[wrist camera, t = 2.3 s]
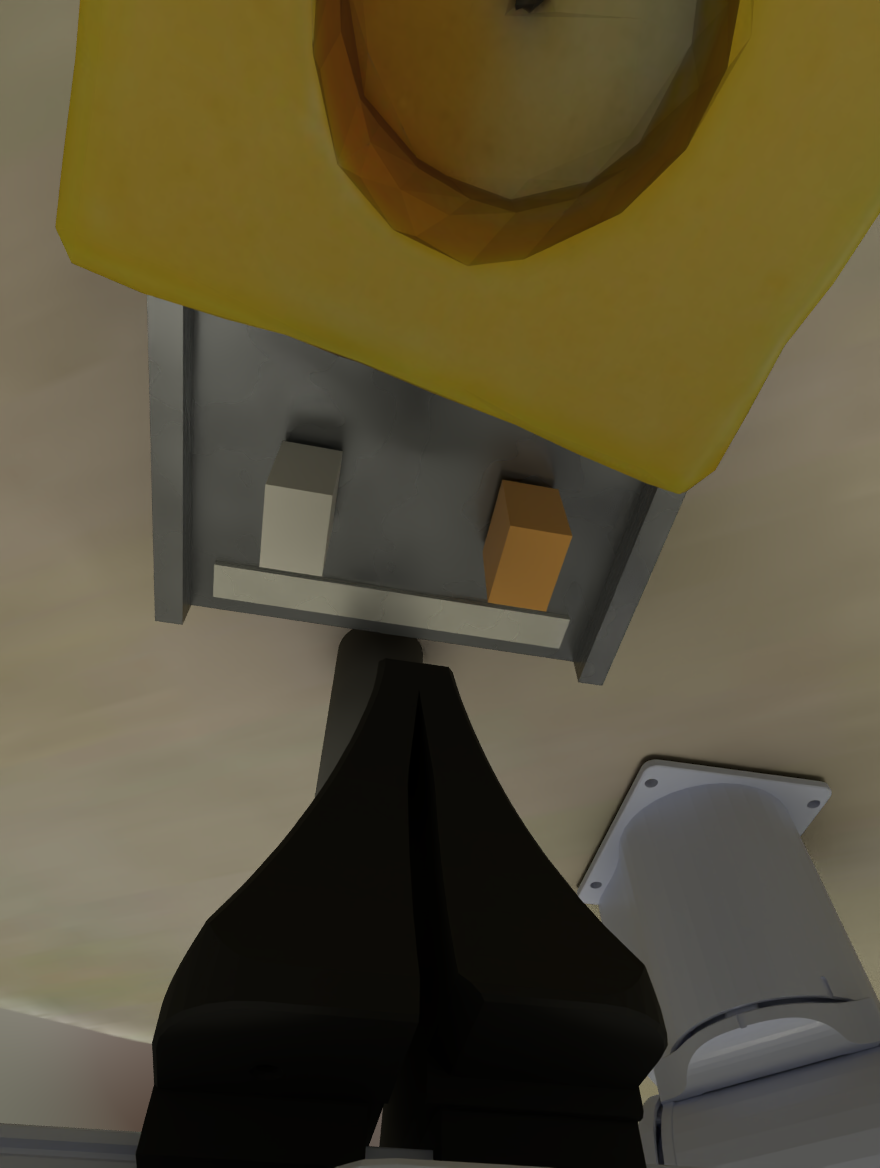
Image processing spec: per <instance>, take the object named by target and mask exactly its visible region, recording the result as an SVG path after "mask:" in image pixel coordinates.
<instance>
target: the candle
mask: <svg viewBox="0 0 880 1168" xmlns="http://www.w3.org/2000/svg"><path fill="white" fill-rule="evenodd" d="M879 213H880V0H80V8H79V20H78V33H77V45H76V57H75V66H74V74H73V82H72V90H71V98H70V106H69V114H68V122H67V130H66V138H65V146H64V154H63V162H62V171H61V180H60V190H59V199H58V208H57V218H56V227H55V228H56V230H57V232H58V234H59V236H60V238H61V241H62V243H63V245H64V247H65V249H66V252H67V254H68V256H69V258H70V260H71V262H72V263H73V264H75V265H77V266H80V267H82V268H85V269H87V270H89V271H92V272H94V273H96V274H99V275H101V276H103V277H106V278H108V279H111V280H113V281H115V282H118V283H120V284H122V285H125V286H127V287H129V288H132V289H134V290H137V291H139V292H141V293H144V294H147V295H150V296H153V297H156V298H159V299H163V300H166V301H169V302H172V303H175V304H179V305H182V306H185V307H188V308H191V309H195V310H198V311H201V312H204V313H207V314H211V315H214V316H217V317H220V318H223V319H226V320H230V321H234V322H238V323H242V324H246V325H250V326H253V327H257V328H261V329H265V330H269V331H273V332H276V333H280V334H284V335H287V336H290V337H292V338H295V339H297V340H300V341H302V342H305V343H307V344H310V345H312V346H315V347H317V348H320V349H322V350H325V351H327V352H329V353H332V354H334V355H337V356H340V357H343V358H346V359H349V360H352V361H356V362H359V363H362V364H364V365H366V366H369V367H371V368H374V369H376V370H378V371H381V372H383V373H386V374H388V375H390V376H393V377H395V378H398V379H400V380H403V381H405V382H407V383H410V384H412V385H415V386H417V387H419V388H422V389H424V390H427V391H429V392H431V393H434V394H436V395H439V396H441V397H444V398H446V399H449V400H451V401H454V402H457V403H459V404H462V405H465V406H467V407H470V408H472V409H475V410H478V411H480V412H483V413H486V414H488V415H491V416H493V417H496V418H499V419H501V420H504V421H507V422H509V423H512V424H514V425H517V426H519V427H521V428H523V429H525V430H527V431H529V432H532V433H534V434H536V435H538V436H540V437H542V438H544V439H546V440H549V441H551V442H553V443H555V444H557V445H559V446H561V447H563V448H566V449H568V450H570V451H572V452H574V453H576V454H579V455H581V456H583V457H586V458H588V459H590V460H593V461H595V462H597V463H600V464H602V465H604V466H607V467H609V468H611V469H614V470H616V471H618V472H621V473H623V474H625V475H628V476H630V477H633V478H635V479H637V480H640V481H642V482H644V483H647V484H650V485H653V486H656V487H659V488H662V489H665V490H667V491H670V492H673V493H676V494H682V493H684V492H686V491H688V490H689V489H690V488H692V487H693V486H694V485H696V484H697V483H698V482H700V481H701V480H702V479H704V478H705V477H707V476H708V475H709V474H711V473H712V472H713V471H715V470H716V468H717V466H718V464H719V463H720V461H721V459H722V457H723V456H724V454H725V452H726V450H727V449H728V447H729V445H730V443H731V442H732V440H733V438H734V436H735V435H736V433H737V431H738V429H739V428H740V426H741V424H742V422H743V421H744V419H745V417H746V415H747V414H748V412H749V410H750V408H751V406H752V404H753V403H754V401H755V399H756V397H757V395H758V393H759V392H760V390H761V388H762V386H763V384H764V382H765V381H766V379H767V377H768V375H769V373H770V371H771V370H772V368H773V366H774V364H775V362H776V360H777V359H778V357H779V355H780V353H781V351H782V349H783V348H784V346H785V344H786V343H787V342H788V341H789V339H790V338H791V337H792V335H793V334H794V333H795V332H796V330H797V329H798V328H799V327H800V325H801V324H802V323H803V321H804V320H805V319H806V318H807V316H808V315H809V314H810V313H811V311H812V310H813V309H814V307H815V306H816V305H817V304H818V302H819V301H820V300H821V299H822V297H823V296H824V295H825V293H826V292H827V291H828V290H829V288H830V287H831V286H832V285H833V283H834V282H835V280H836V279H837V277H838V276H839V274H840V273H841V271H842V269H843V268H844V266H845V265H846V263H847V262H848V260H849V259H850V257H851V256H852V254H853V253H854V251H855V250H856V248H857V247H858V245H859V244H860V242H861V240H862V239H863V237H864V236H865V234H866V233H867V231H868V230H869V228H870V227H871V225H872V224H873V222H874V221H875V219H876V218H877V216H878V215H879Z"/></svg>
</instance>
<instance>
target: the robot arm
mask: <svg viewBox="0 0 880 1168" xmlns="http://www.w3.org/2000/svg"><path fill="white" fill-rule="evenodd" d="M649 779H650V780H649ZM831 794H832V792H831V789H830V787H829V786H828V784H827V783H825V782H822V781H815V780H808V779H800V778H793V777H785V776H778V775H770V774H763V773H755V772H748V771H740V770H733V769H725V768H718V767H710V766H703V765H695V764H688V763H680V762H673V761H666V760H658V759H653V760H649V761H647V762H645V763H644V764H643V765H642V767H641V769H640V771H639V773H638V774H637V776H636V778H635V780H634V782H633V784H632V786H631V788H630V790H629V792H628V794H627V796H626V798H625V799H624V801H623V803H622V805H621V807H620V809H619V811H618V813H617V815H616V817H615V819H614V821H613V823H612V824H611V826H610V828H609V830H608V832H607V834H606V836H605V838H604V840H603V842H602V844H601V846H600V847H599V849H598V851H597V853H596V855H595V857H594V859H593V861H592V863H591V865H590V867H589V869H588V871H587V872H586V874H585V876H584V878H583V880H582V882H581V884H580V886H579V888H578V890H577V894H576V893H575V892H574V890H573V889H572V888H571V887H570V885H569V884H568V883H567V882H566V880H565V879H564V878H563V877H562V875H561V874H560V873H559V872H558V870H557V869H556V868H555V867H554V865H553V864H552V863H551V862H550V860H549V859H548V858H547V856H546V855H545V854H544V852H543V851H542V849H541V848H540V847H539V845H538V844H537V842H536V841H535V840H534V838H533V837H532V835H531V834H530V832H529V831H528V829H527V828H526V826H525V825H524V823H523V822H522V820H521V818H520V817H519V815H518V814H517V812H516V811H515V809H514V807H513V806H512V804H511V802H510V801H509V799H508V797H507V795H506V794H505V792H504V790H503V788H502V786H501V785H500V783H499V781H498V779H497V777H496V775H495V774H494V772H493V770H492V768H491V766H490V764H489V762H488V760H487V758H486V756H485V754H484V751H483V749H482V747H481V745H480V743H479V741H478V739H477V736H476V734H475V732H474V730H473V727H472V725H471V723H470V720H469V718H468V715H467V713H466V710H465V708H464V705H463V702H462V700H461V697H460V694H459V691H458V688H457V685H456V682H455V679H454V676H453V672H452V671H451V670H450V668H449V667H444V666H437V665H430V664H423V663H416V662H409V661H402V660H395V659H388V658H385V659H383V660H381V661H379V662H378V667H377V672H376V677H375V682H374V687H373V690H372V693H371V696H370V699H369V701H368V704H367V706H366V709H365V711H364V713H363V715H362V717H361V719H360V722H359V724H358V726H357V728H356V730H355V732H354V734H353V736H352V738H351V740H350V742H349V744H348V745H347V747H346V749H345V751H344V752H343V754H342V756H341V758H340V759H339V761H338V763H337V765H336V766H335V768H334V770H333V771H332V773H331V774H330V776H329V778H328V779H327V781H326V782H325V784H324V785H323V787H322V788H321V790H320V791H319V793H318V794H317V796H316V797H315V799H314V800H313V802H312V803H311V804H310V806H309V807H308V808H307V810H306V811H305V812H304V814H303V815H302V816H301V818H300V819H299V820H298V822H297V823H296V824H295V826H294V827H293V828H292V830H291V831H290V832H289V833H288V835H287V836H286V837H285V838H284V840H283V841H282V842H281V843H280V844H279V846H278V847H277V848H276V849H275V850H274V851H273V852H272V853H271V855H270V856H269V857H268V858H267V859H266V860H265V861H264V862H263V864H262V865H261V866H260V867H259V868H258V869H257V870H256V871H255V873H254V874H253V875H252V876H251V877H250V878H249V879H248V880H247V881H246V882H245V883H244V884H243V885H242V886H241V887H240V888H239V889H238V890H237V891H236V892H235V893H234V894H233V895H232V896H231V897H230V898H229V899H228V900H227V901H226V902H225V903H224V904H223V905H222V906H221V907H220V908H219V909H218V910H217V911H216V912H215V913H214V914H213V915H212V916H211V917H210V918H209V919H208V920H207V921H206V922H205V924H204V926H203V927H202V929H201V931H200V932H199V934H198V935H197V937H196V938H195V940H194V942H193V943H192V945H191V946H190V948H189V950H188V951H187V953H186V955H185V957H184V958H183V960H182V962H181V963H180V965H179V967H178V969H177V971H176V973H175V975H174V977H173V979H172V981H171V983H170V985H169V987H168V990H167V992H166V995H165V997H164V1000H163V1003H162V1007H161V1010H160V1014H159V1018H158V1022H157V1026H156V1030H155V1034H154V1038H153V1042H152V1050H153V1069H154V1087H153V1091H152V1095H151V1099H150V1102H149V1106H148V1109H147V1113H146V1117H145V1121H144V1124H143V1128H142V1132H132V1131H116V1130H100V1129H84V1128H68V1127H51V1126H35V1125H20V1124H4V1123H0V1168H880V1002H879V1000H878V998H877V996H876V994H875V992H874V989H873V987H872V985H871V983H870V981H869V979H868V977H867V975H866V973H865V971H864V969H863V967H862V964H861V962H860V960H859V958H858V956H857V954H856V952H855V950H854V948H853V946H852V944H851V941H850V939H849V937H848V935H847V933H846V931H845V929H844V927H843V925H842V923H841V921H840V919H839V916H838V914H837V912H836V910H835V908H834V906H833V904H832V902H831V900H830V898H829V896H828V893H827V891H826V889H825V887H824V885H823V883H822V881H821V879H820V877H819V875H818V873H817V870H816V868H815V866H814V864H813V862H812V860H811V858H810V856H809V854H808V852H807V850H806V848H805V845H804V843H803V841H802V839H801V837H800V836H801V835H802V834H803V832H804V831H805V830H806V828H807V827H808V826H809V824H810V823H811V822H812V820H813V819H814V818H815V816H816V815H817V814H818V813H819V811H820V810H821V809H822V807H823V806H824V805H825V803H826V802H827V801H828V799H829V798H830V797H831ZM584 903H587V904H596V905H599V910H600V915H601V920H602V922H601V921H600V920H599V919H598V918H597V917H596V916H595V915H594V914H593V913H592V911H591V910H590V909H589V908H588V907H587V906H586V905H585V904H584ZM647 1075H648V1077H649V1078H650V1079H651V1080H652V1081H653V1082H654V1083H655V1084H656V1085H657V1087H658V1092H659V1095H655V1096H652V1097H650V1098H648V1099H647V1100H646V1102H645V1103H644V1105H642V1100H641V1095H640V1090H639V1085H640V1084H641V1083H642V1081H643V1080H644V1079H645V1078H646V1077H647ZM382 1108H383V1113H382V1125H381V1136H380V1146H379V1147H372V1146H371V1147H370V1146H369V1143H370V1141H371V1138H372V1135H373V1133H374V1130H375V1127H376V1124H377V1122H378V1119H379V1117H380V1113H381V1111H382ZM638 1121H639V1123H638Z"/></svg>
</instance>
